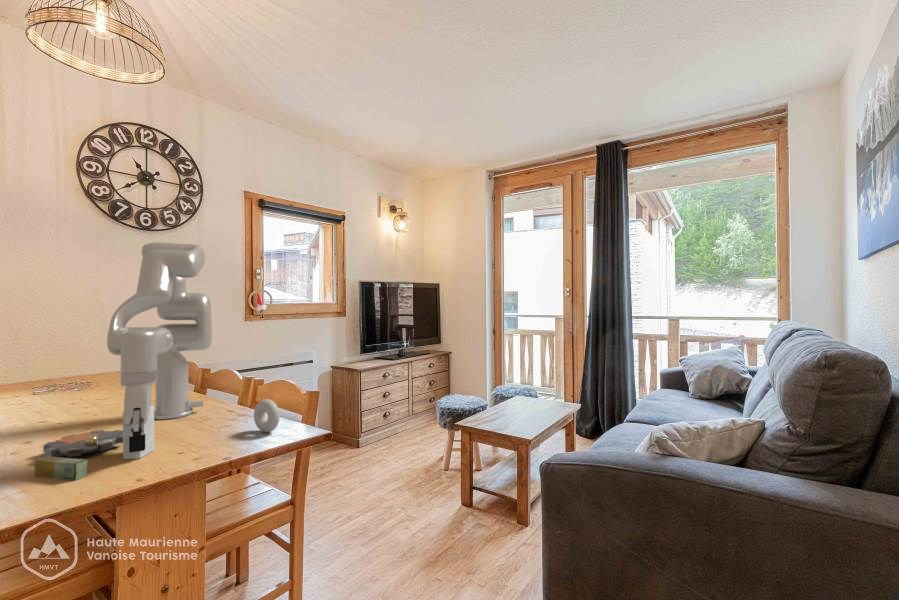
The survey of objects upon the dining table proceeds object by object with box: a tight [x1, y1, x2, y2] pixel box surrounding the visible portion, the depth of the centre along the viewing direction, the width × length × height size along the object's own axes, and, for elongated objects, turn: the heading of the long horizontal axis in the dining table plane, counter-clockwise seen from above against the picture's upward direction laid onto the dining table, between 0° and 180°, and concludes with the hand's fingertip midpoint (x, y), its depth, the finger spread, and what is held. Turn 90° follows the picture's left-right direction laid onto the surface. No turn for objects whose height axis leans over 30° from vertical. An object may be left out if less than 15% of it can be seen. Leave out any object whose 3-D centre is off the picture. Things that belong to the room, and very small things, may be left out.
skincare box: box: [122, 405, 155, 460], centre depth 107 cm, size 6×4×12 cm
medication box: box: [34, 456, 88, 482], centre depth 94 cm, size 12×3×4 cm, turn 79°
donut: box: [253, 398, 281, 433], centre depth 126 cm, size 10×4×10 cm, turn 60°
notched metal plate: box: [42, 429, 123, 458], centre depth 109 cm, size 16×16×4 cm
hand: (138, 445), depth 107 cm, fingers closed on skincare box, 7 cm apart
